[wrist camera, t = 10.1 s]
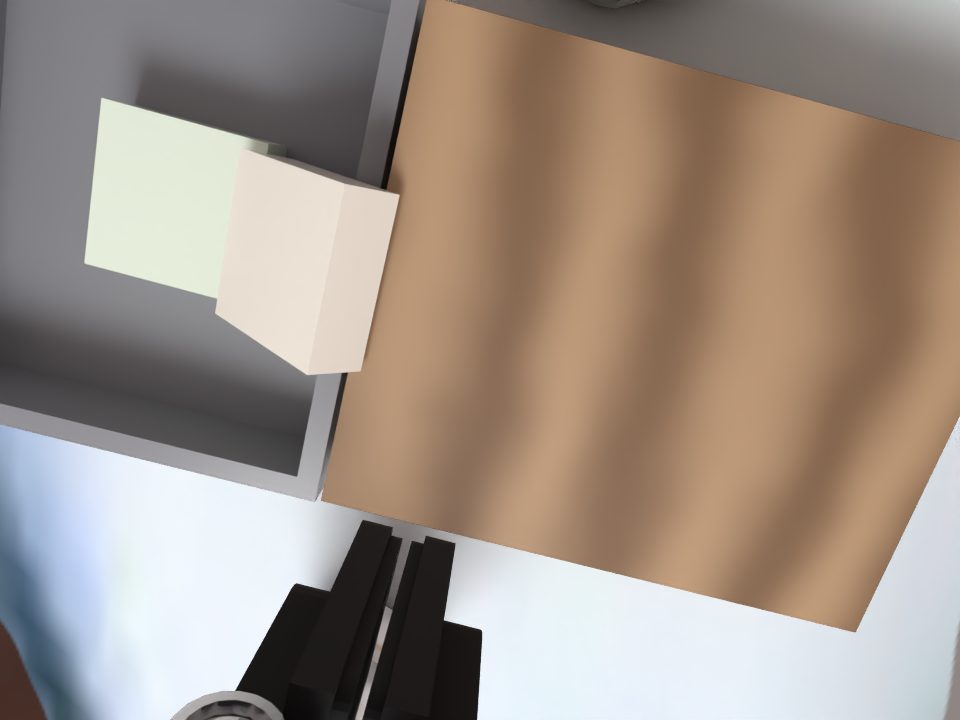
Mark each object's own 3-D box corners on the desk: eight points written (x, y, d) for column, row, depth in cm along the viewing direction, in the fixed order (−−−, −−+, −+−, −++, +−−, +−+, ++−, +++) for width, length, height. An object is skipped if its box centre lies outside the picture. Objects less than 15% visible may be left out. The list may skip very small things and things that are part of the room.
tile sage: (101, 97, 27) (134, 104, 30) (84, 263, 29) (116, 257, 31) (268, 143, 27) (287, 146, 30) (241, 304, 29) (261, 295, 32)
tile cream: (399, 194, 24) (345, 184, 22) (360, 371, 26) (307, 375, 24) (294, 159, 28) (240, 147, 27) (267, 313, 30) (214, 313, 28)
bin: (436, 4, 29) (425, -28, 24) (338, 461, 34) (314, 501, 30) (-2, -116, 28) (-95, -171, 24) (-27, 370, 34) (-105, 398, 29)
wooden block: (964, 174, 30) (1076, 173, 24) (796, 557, 35) (855, 632, 29) (442, 32, 29) (427, -5, 23) (351, 446, 34) (321, 500, 28)
